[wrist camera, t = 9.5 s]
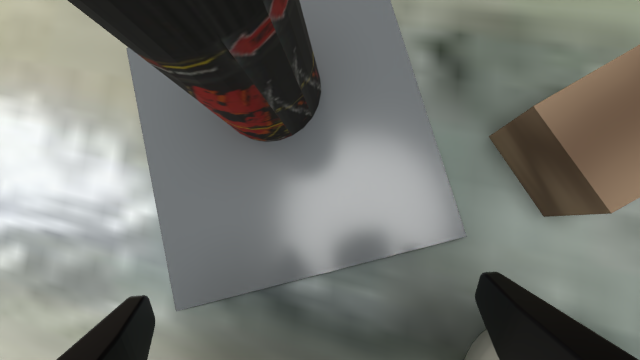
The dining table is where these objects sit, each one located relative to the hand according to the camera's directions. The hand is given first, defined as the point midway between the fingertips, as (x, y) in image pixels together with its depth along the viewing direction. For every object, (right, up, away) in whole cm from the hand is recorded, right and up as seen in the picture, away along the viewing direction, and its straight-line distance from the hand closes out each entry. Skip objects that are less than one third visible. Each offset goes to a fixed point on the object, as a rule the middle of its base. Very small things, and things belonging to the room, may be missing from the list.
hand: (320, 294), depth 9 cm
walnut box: (+13, +5, +9) cm, 16 cm away
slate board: (-2, +6, +11) cm, 12 cm away
